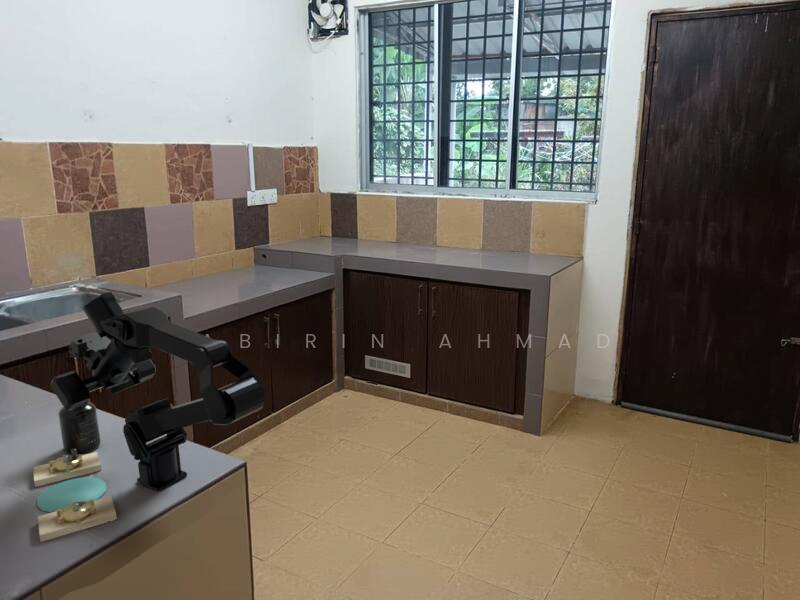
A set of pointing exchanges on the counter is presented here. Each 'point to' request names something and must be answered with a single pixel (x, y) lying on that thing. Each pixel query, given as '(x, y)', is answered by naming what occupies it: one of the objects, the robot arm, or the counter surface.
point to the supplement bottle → (79, 428)
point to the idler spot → (71, 493)
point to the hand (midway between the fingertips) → (91, 399)
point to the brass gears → (76, 509)
